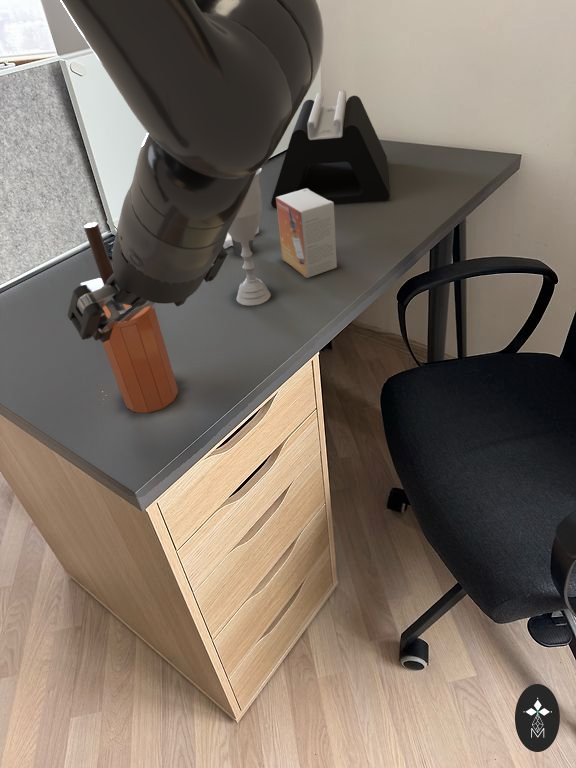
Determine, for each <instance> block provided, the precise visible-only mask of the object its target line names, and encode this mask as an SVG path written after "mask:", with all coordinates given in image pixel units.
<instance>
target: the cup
mask: <svg viewBox="0 0 576 768" xmlns="http://www.w3.org/2000/svg"><path fill="white" fill-rule="evenodd" d="M123 306H124V307H125V309H126V310H127V309H128V308H129V307H130V306H131V305H126V304H123ZM103 310H104V312H105V313H106V314H105V315H106V316H107V318H109V317H110V316H111V313H110V311H109V310H108V308H107V306H106V305H105V306H104V307H103ZM102 345H103V348H104V350H105V353H106V356H107V358H108V361H109V364H110V367H111V369H112V372H113V375H114V377H115V380H116V383H117V386H118V388H119V392H120V394H121V397H122V399H123V401H124V404H125V408H126V409H129V410H130V411H132V412H134V413H138V414H141V413H143V414H149V413H153V412H156V411H159V410H162V409H165V408H167V406H169V405H170V404H172V403H173V402H174V401H175V399H176V397H177V395H178V393H179V388H178V385H177V382H176V378H175V375H174V371H173V368H172V364H171V361H170V358H169V354H168V350H167V347H166V344H165V341H164V337H163V333H162V330H161V326H160V323H159V320H158V317H157V312H156V309H155V307H154V304H153V305H151V306H149V307H145V308H143V309H142V310H141V311H140V312H139V313H137V314H136V315H135V316H134V317H133V318H132V319H130V320H129V321H125V322H120V323H117V324H116V325H115V326H114V327H113V330H112V333H111V336H110V339H109V340H107V341H105V342H103V343H102Z"/></svg>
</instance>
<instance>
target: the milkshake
mask: <svg viewBox="0 0 576 768" xmlns="http://www.w3.org/2000/svg"><path fill="white" fill-rule="evenodd" d="M229 236H230V234H229ZM230 240H231V244H232V246H231V247H232V251H233V254H234V255H235V256H236V257H242V256H241V253H242V245H241V242H236V241H234V240H233V238H232V237H231V236H230ZM253 240H254V239H252V240H250V241H249V249H250V251H251V252H252V253H253V252H254V241H253Z"/></svg>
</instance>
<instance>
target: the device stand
mask: <svg viewBox="0 0 576 768" xmlns="http://www.w3.org/2000/svg"><path fill="white" fill-rule="evenodd" d="M324 99H325V95H324V93H323V92H317V93H316V95H315V99H307V100H305V101H303V104H302V107H301V108H300V112H299V114H298V116H297V119H296V123H295V124H294V128H293V130H292V133H291V136H290V139H289V142H288V145H287V148H286V152H285V156H284V158H283V162H282V165H281V169H280V171H279V175H278V179H277V182H276V185H275V187H274V192H273V195H272V198H271V200H270V205H271V207H272V208H274V209H277V204H276V197H278V196H281V195H285V194H288V193H292V192H295V191H299V190H302V189H306V188H308V189H309V190H310V191H312V192H314V193H316V194H318V195H319V196H321V197H323V198H325V199H327V200H329V201H332V202H333V203H334V205H345V204H360V203H361V204H362V203H375V202H376V203H377V202H378V203H379V202H387V201H388V200H389V199H390V196H391V195H390V194H391V193H390V184H389V169H388V157H387V154H386V152H385V150H384V148H383V145H382V143H381V141H380V139H379V136H378V135H377V132H376V130H375V128H374V126H373V123H372V121H371V119H370V116H369V114H368V112H367V110H366V108H365V106H364V104H363V102H362V100H361V97H359V96H358V95H351V96H349V97H348V98H347V91H346V90H344V89H343V90H339V92H338V96H337V99H336V100H337V101H336V105H328V106H323V104H324Z"/></svg>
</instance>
